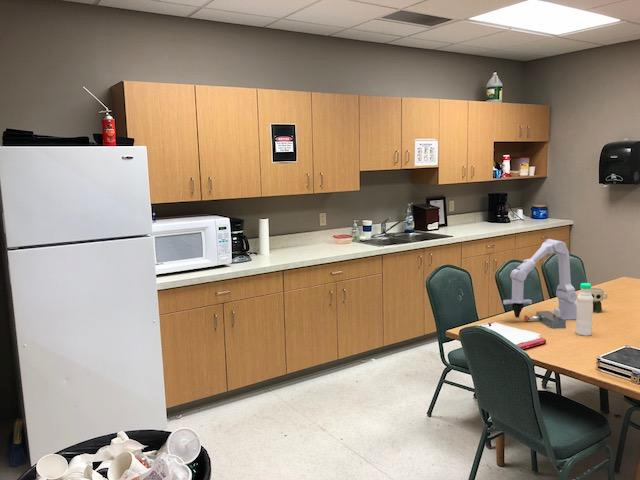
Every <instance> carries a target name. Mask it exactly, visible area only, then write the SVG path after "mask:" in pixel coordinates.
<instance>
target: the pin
mask: <svg viewBox="0 0 640 480" xmlns="http://www.w3.org/2000/svg"><path fill="white" fill-rule="evenodd" d="M523 320H524V321H525V322H529V321H536V320H537V321H539V320H542V316H536V315H535V316H534V315H533V316H529V315H524V316H523Z"/></svg>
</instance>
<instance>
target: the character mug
mask: <svg viewBox="0 0 640 480" xmlns="http://www.w3.org/2000/svg"><path fill="white" fill-rule="evenodd" d="M604 291H605V290H604V288H600V287H591V290H590V292H591V294H592V296H593V313H594V312H595V313H601V312H602V311H603V308H602V307H603V306H602V301H603V300H607V299H608V293H607V292H604Z"/></svg>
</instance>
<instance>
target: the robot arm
mask: <svg viewBox="0 0 640 480" xmlns="http://www.w3.org/2000/svg"><path fill="white" fill-rule="evenodd" d="M549 254H554V255H556V256H557V263H558V264H557V265H558V278H559V284H558V285H557V286H556V291H555V292H556V293H555V296H556V298H557V300H558V308H557V309H559V310H560V317H561V318H562V319H564V320H577V301H576V300H577V297H578V295H577V293H576V288H575V287H574V286H573V285H572V281H571V280H572V279H571V264H570V261H571V260H570V251H569V250H568V248H567V243H565V242H564V241H562V240H556V239H552V238H547V239H546V240H545V241H544V242H543V243H542V244H541V246H540V247H539V248H538V249H537V251H535V253H534V254H533V255H532V256H531V257H530V258H526V259H523V261H522V263H521V264H520V265H519V266H517V267H516V268H515V269H512V271H511V272H510V274H509V277H510V279H511V299H504V300H503V299H502V304H503V305H510V306H511V308H512V310H513V314H514V317H515V318H517V319H518V318H520V314H521V312H522V310H523V308H524V307H525V305H524V304H527V305H528V304H529V305H532V304H533V303H532V301H533V300H532V299H531V298H530V299H527V298H526V299H524V290H525V289H524V287H525V286H524V284H525V283H524V282H525V280H526V279H527V276H528V274H529V273H530V272H531V271H533V269H534V268H536V263H537V262H539V261H540V260H541V259H543V257H545V256H546V255H549Z"/></svg>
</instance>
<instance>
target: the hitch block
mask: <svg viewBox="0 0 640 480" xmlns="http://www.w3.org/2000/svg"><path fill="white" fill-rule="evenodd" d="M535 316H542V320H538V321H539V322H540V323H542V324H544V325H545V326H547V327H549V328H550V329H566V328H567V327H566V324H567V323H566V322H567V321H566V320H567V319H565V320H564V319H562V318H561V317H557V316H556V315H554V312H552V311H550V310H543V311H542V310H540V311H537V310H536V313H535Z"/></svg>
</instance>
